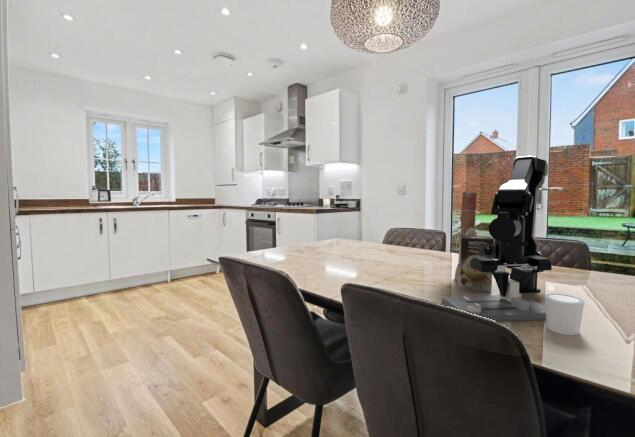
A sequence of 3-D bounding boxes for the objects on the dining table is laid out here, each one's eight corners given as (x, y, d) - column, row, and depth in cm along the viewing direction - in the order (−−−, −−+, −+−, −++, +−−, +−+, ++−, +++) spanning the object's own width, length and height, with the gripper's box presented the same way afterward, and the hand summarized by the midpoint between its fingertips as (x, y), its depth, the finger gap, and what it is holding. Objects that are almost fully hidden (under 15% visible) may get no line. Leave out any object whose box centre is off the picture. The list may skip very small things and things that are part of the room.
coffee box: (458, 289, 101) (460, 237, 100) (457, 284, 107) (458, 235, 106) (492, 292, 98) (494, 238, 97) (488, 286, 104) (490, 236, 103)
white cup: (535, 324, 74) (537, 293, 74) (564, 322, 75) (565, 292, 75) (560, 337, 68) (562, 303, 67) (591, 335, 68) (593, 302, 68)
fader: (508, 296, 88) (509, 277, 88) (518, 301, 84) (519, 281, 84) (499, 297, 88) (500, 278, 88) (509, 302, 84) (510, 282, 84)
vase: (477, 284, 106) (479, 191, 104) (452, 281, 110) (454, 191, 108) (479, 277, 116) (481, 191, 113) (456, 274, 119) (458, 191, 117)
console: (518, 299, 91) (519, 287, 91) (559, 318, 77) (560, 304, 77) (441, 302, 89) (441, 289, 89) (469, 322, 76) (469, 307, 75)
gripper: (523, 232, 94) (521, 286, 95) (460, 233, 92) (459, 288, 93) (554, 237, 82) (552, 298, 84) (483, 239, 81) (481, 301, 82)
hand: (509, 296), depth 86 cm, fingers open, 3 cm apart
